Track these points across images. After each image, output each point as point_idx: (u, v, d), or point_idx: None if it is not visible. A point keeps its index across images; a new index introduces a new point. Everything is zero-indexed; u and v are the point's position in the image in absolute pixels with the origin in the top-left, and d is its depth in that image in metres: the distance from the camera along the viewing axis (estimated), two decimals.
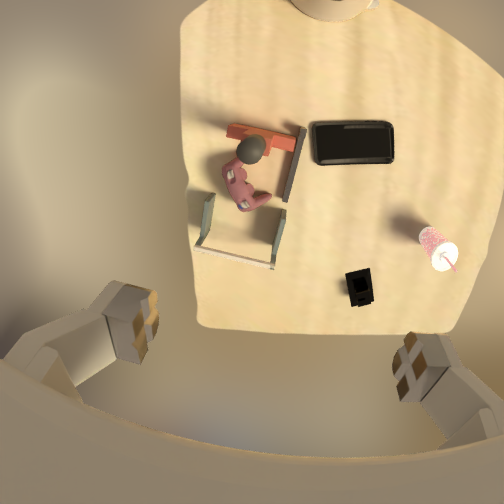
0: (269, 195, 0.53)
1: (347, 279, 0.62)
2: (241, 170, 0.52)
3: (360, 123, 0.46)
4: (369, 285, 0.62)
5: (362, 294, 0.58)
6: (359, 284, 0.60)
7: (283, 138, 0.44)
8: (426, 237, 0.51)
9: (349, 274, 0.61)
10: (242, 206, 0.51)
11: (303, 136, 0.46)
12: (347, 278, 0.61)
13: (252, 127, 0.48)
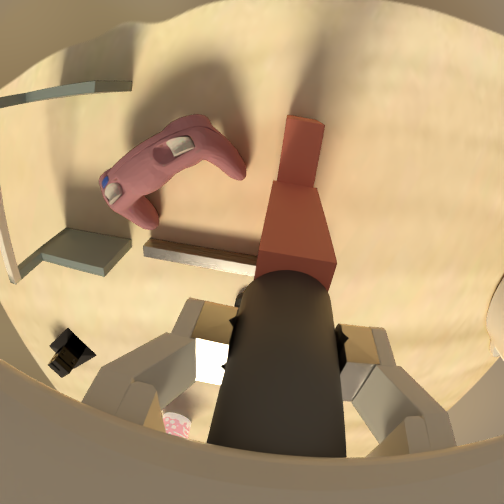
0: (153, 226, 0.23)
1: (65, 332, 0.34)
2: None
3: None
4: (81, 360, 0.36)
5: (60, 367, 0.32)
6: (70, 352, 0.34)
7: None
8: (174, 431, 0.36)
9: (71, 333, 0.34)
10: (106, 188, 0.18)
11: None
12: (66, 332, 0.34)
13: None
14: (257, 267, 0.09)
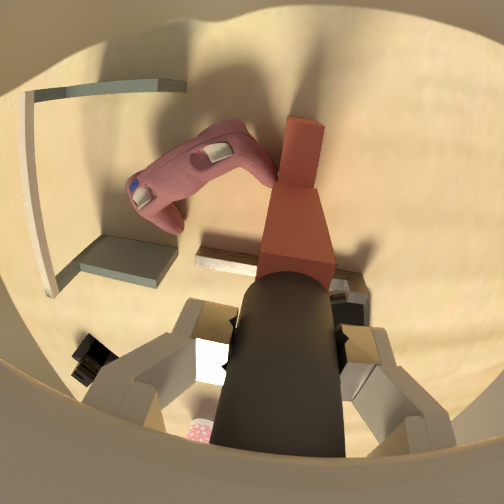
0: (179, 231, 0.23)
1: (86, 339, 0.34)
2: None
3: None
4: None
5: (83, 375, 0.32)
6: (94, 358, 0.34)
7: None
8: (205, 438, 0.36)
9: (92, 339, 0.34)
10: (135, 192, 0.18)
11: (351, 299, 0.22)
12: (87, 339, 0.34)
13: None
14: (259, 268, 0.09)
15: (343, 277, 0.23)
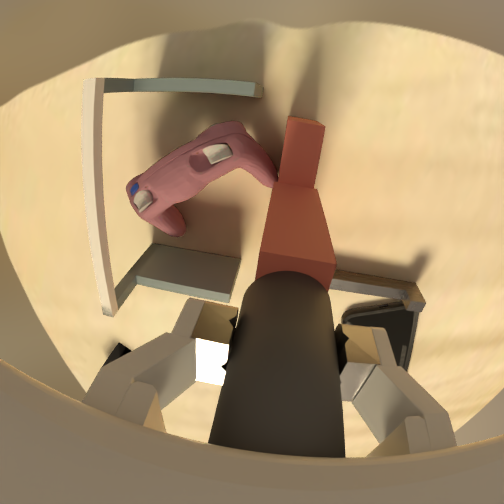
0: (181, 233, 0.23)
1: (116, 348, 0.34)
2: None
3: (406, 362, 0.28)
4: None
5: None
6: None
7: None
8: None
9: (123, 348, 0.33)
10: (135, 195, 0.18)
11: (410, 307, 0.22)
12: (118, 348, 0.34)
13: None
14: (258, 267, 0.09)
15: (401, 287, 0.23)
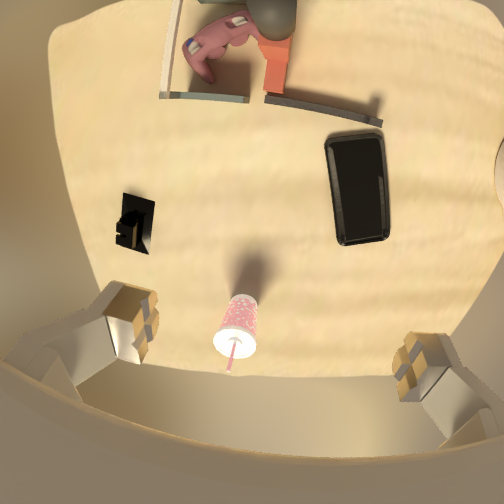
0: (211, 80, 0.31)
1: (123, 202, 0.42)
2: (244, 37, 0.28)
3: (386, 198, 0.36)
4: (147, 227, 0.43)
5: (124, 228, 0.39)
6: (132, 215, 0.41)
7: (282, 74, 0.27)
8: (246, 307, 0.44)
9: (127, 196, 0.41)
10: (190, 44, 0.26)
11: (371, 122, 0.30)
12: (124, 200, 0.42)
13: None
14: None
15: (364, 115, 0.31)
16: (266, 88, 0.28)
